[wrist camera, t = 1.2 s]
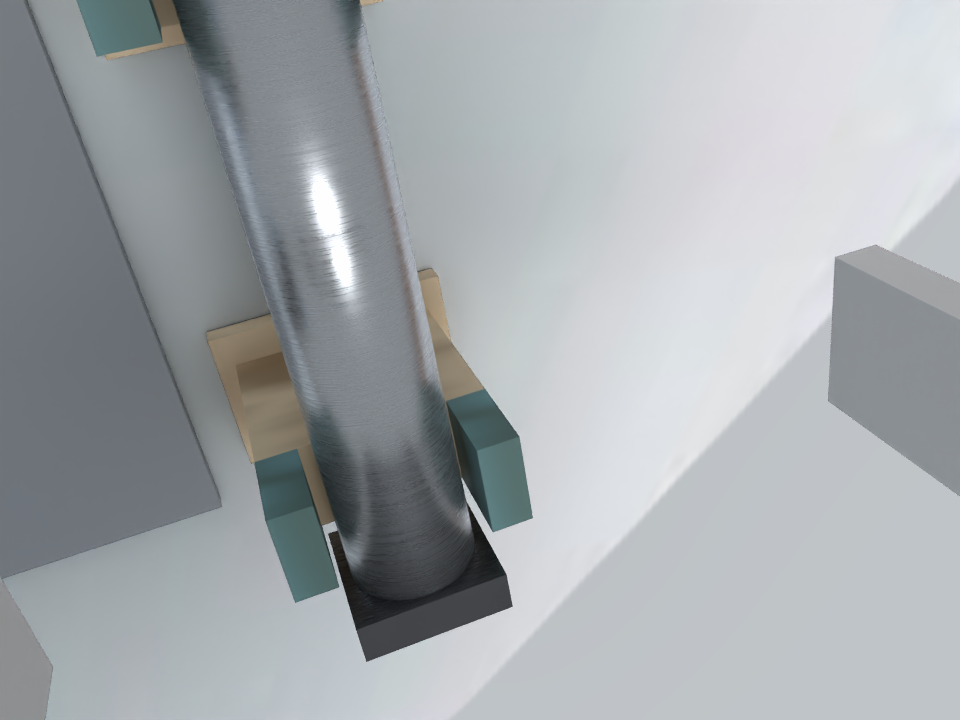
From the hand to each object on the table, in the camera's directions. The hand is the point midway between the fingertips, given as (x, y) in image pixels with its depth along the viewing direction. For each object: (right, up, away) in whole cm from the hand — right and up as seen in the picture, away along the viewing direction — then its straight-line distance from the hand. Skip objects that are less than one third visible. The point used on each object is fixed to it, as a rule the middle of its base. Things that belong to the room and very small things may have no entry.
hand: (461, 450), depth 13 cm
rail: (-4, +4, +9) cm, 11 cm away
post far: (-5, +1, +18) cm, 19 cm away
